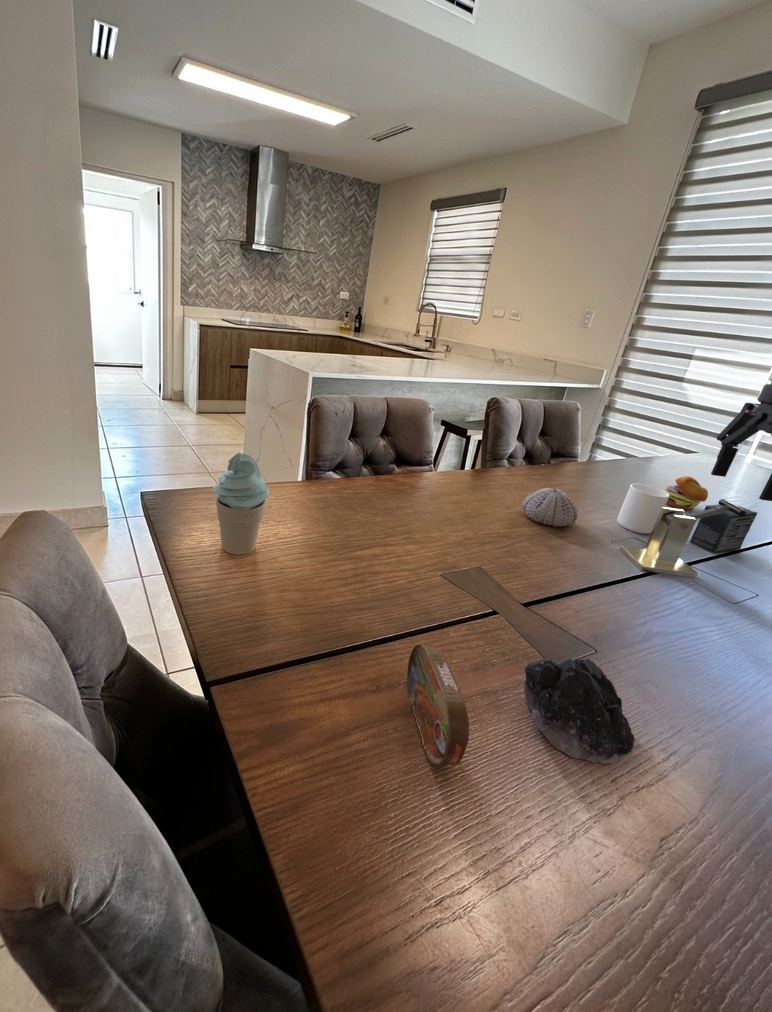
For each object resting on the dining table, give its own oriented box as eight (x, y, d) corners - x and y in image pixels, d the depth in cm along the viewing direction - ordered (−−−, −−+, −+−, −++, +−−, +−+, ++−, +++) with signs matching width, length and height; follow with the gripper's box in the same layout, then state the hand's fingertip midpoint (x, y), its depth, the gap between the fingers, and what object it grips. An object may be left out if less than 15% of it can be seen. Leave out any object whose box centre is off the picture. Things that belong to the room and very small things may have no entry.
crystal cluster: (637, 729, 63) (660, 666, 60) (619, 792, 53) (646, 720, 50) (535, 678, 71) (551, 620, 68) (502, 724, 61) (519, 659, 58)
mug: (660, 526, 127) (676, 490, 123) (648, 538, 119) (665, 499, 115) (625, 514, 132) (639, 478, 128) (611, 524, 124) (626, 487, 120)
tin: (402, 678, 65) (413, 630, 62) (424, 679, 66) (436, 631, 63) (433, 783, 52) (449, 728, 48) (460, 783, 52) (478, 728, 49)
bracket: (670, 556, 110) (693, 507, 106) (696, 578, 102) (722, 526, 97) (619, 550, 111) (639, 500, 106) (640, 570, 102) (664, 518, 97)
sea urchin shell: (581, 534, 116) (592, 505, 113) (525, 525, 118) (534, 496, 115) (564, 512, 128) (574, 485, 125) (513, 504, 130) (522, 477, 127)
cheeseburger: (661, 493, 152) (682, 468, 147) (695, 514, 146) (718, 488, 140) (650, 499, 145) (672, 472, 140) (686, 520, 139) (710, 493, 134)
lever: (725, 505, 103) (725, 496, 102) (746, 517, 98) (746, 507, 97) (661, 520, 106) (660, 511, 105) (678, 533, 100) (677, 523, 99)
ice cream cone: (274, 542, 96) (281, 449, 88) (243, 567, 86) (248, 465, 79) (232, 528, 99) (236, 437, 92) (198, 550, 90) (200, 451, 82)
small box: (713, 537, 124) (730, 501, 120) (740, 550, 118) (760, 513, 114) (687, 541, 120) (704, 504, 116) (714, 554, 114) (733, 515, 110)
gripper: (723, 373, 102) (684, 464, 110) (831, 395, 79) (771, 509, 87) (758, 377, 102) (717, 468, 110) (876, 401, 79) (812, 514, 87)
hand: (741, 487), depth 98 cm, fingers open, 13 cm apart
